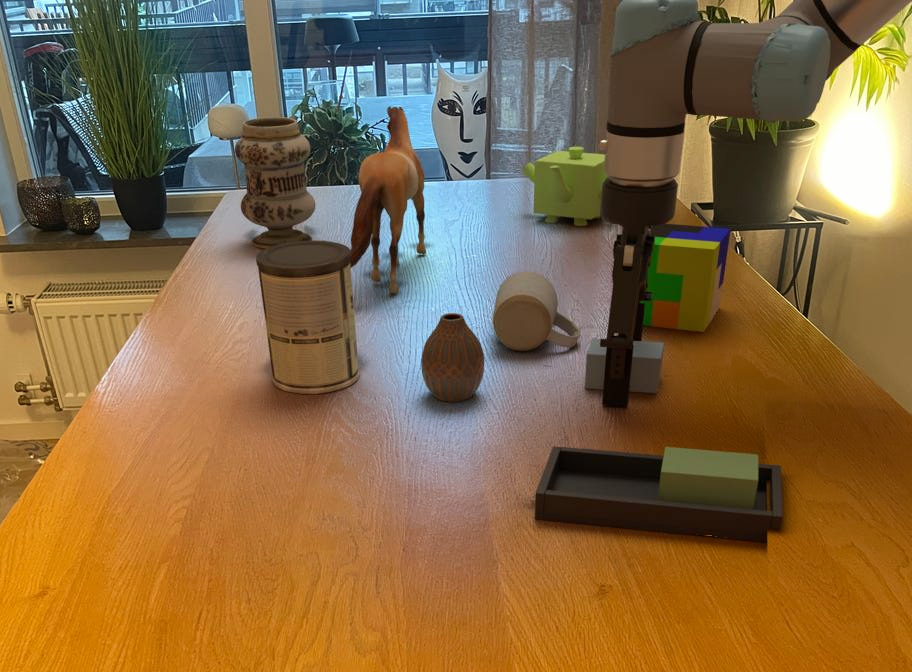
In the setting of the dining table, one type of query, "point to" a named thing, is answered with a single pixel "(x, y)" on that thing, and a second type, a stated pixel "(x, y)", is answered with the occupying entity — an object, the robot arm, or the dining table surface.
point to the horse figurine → (388, 196)
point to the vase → (452, 360)
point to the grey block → (642, 370)
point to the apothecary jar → (275, 179)
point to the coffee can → (309, 315)
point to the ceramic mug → (530, 313)
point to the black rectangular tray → (644, 497)
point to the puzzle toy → (685, 276)
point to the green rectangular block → (709, 478)
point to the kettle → (568, 185)
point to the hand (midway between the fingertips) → (621, 381)
